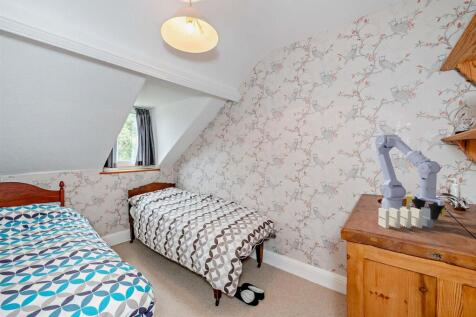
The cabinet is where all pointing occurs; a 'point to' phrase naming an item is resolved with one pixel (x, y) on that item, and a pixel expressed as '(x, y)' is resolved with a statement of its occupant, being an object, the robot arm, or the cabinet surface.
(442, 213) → the candy box
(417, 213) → the ivory domino
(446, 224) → the cabinet surface
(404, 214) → the ivory domino
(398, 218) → the ivory domino
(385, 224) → the ivory domino
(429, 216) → the slate domino
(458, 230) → the cabinet surface
